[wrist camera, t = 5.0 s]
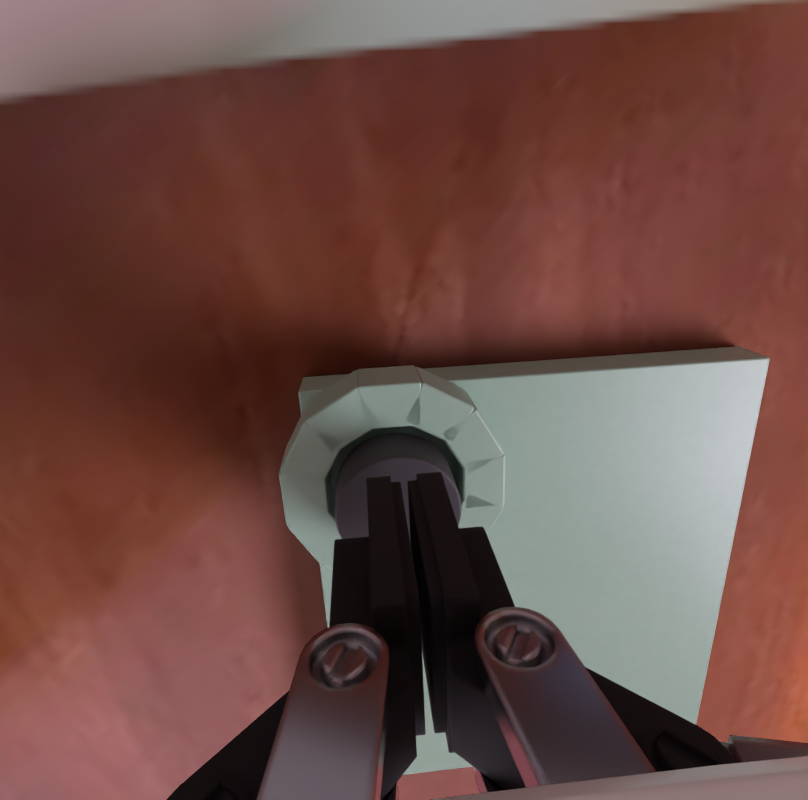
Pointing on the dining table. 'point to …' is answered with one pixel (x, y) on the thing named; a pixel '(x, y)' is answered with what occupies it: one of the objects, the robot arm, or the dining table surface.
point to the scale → (565, 494)
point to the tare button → (386, 458)
